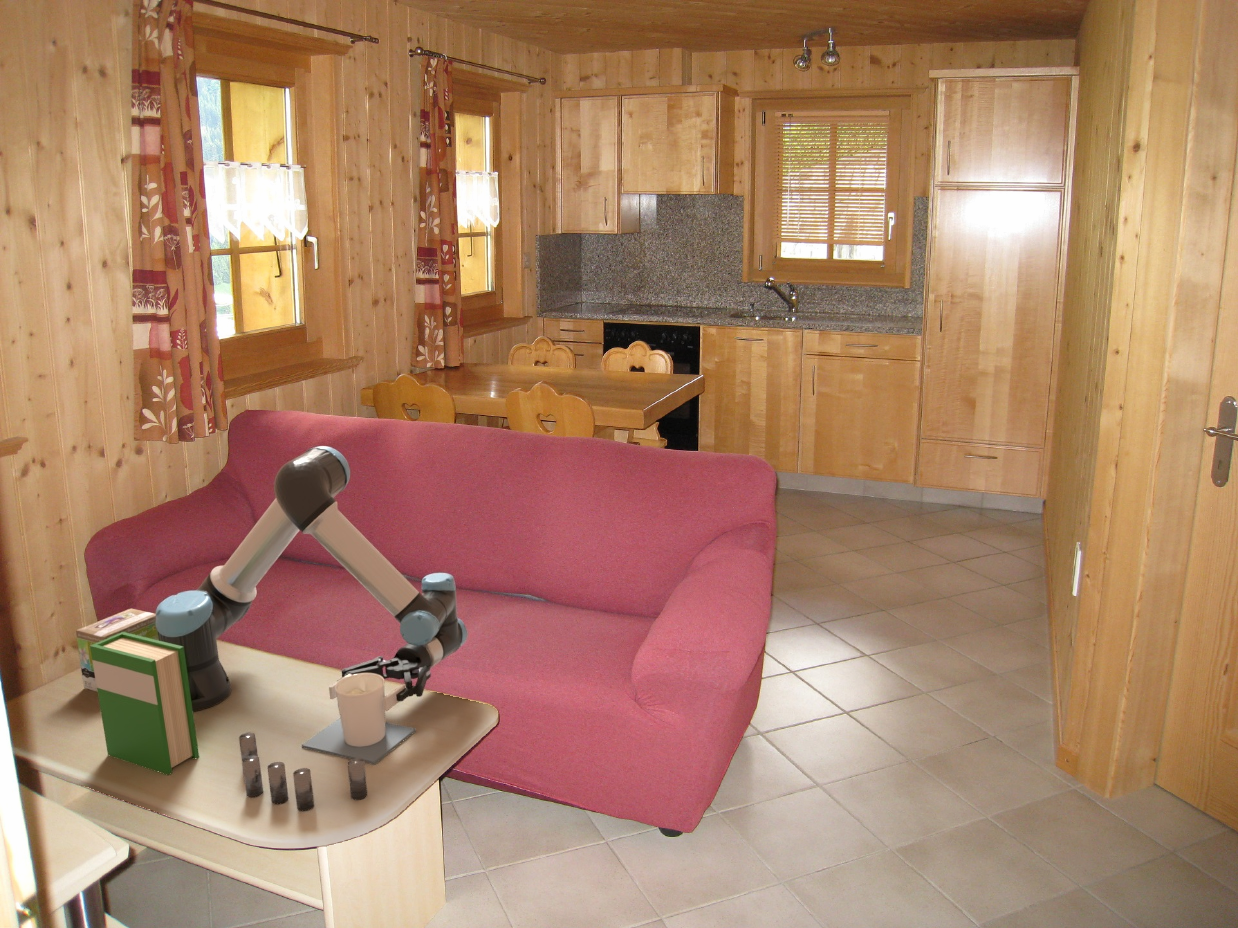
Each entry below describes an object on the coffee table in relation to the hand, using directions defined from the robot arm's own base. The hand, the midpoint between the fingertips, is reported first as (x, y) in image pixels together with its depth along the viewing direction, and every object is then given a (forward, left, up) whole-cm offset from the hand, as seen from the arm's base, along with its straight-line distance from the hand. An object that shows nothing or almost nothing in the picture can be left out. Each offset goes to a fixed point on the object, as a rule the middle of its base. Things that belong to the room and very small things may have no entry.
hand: (357, 698), depth 204 cm
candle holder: (+1, 0, -9) cm, 9 cm away
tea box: (-70, +3, -9) cm, 71 cm away
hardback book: (-35, -21, -9) cm, 42 cm away
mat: (0, 0, -9) cm, 9 cm away
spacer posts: (0, -20, -9) cm, 22 cm away
